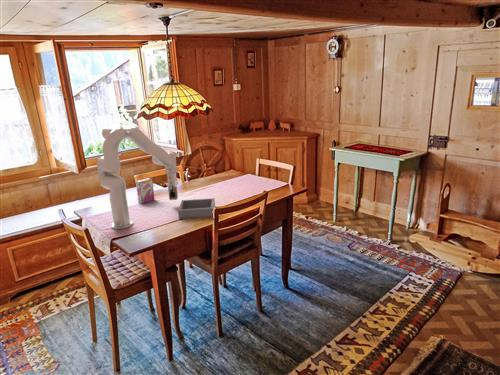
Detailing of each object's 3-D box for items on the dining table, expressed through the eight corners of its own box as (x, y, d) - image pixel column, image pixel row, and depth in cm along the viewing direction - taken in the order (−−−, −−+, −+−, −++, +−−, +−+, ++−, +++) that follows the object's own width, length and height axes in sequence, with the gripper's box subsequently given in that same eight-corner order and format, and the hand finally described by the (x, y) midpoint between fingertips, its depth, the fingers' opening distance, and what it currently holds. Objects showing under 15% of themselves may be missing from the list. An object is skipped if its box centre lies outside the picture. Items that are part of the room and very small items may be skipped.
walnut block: (176, 199, 247) (175, 186, 245) (169, 199, 247) (168, 187, 244) (177, 197, 252) (176, 185, 249) (170, 197, 252) (169, 185, 249)
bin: (213, 217, 228) (213, 208, 226) (178, 219, 227) (177, 210, 225) (215, 206, 247) (214, 198, 245) (182, 208, 246) (182, 200, 244)
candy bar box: (142, 204, 259) (139, 182, 255) (138, 202, 262) (135, 181, 258) (155, 199, 267) (152, 178, 263) (151, 198, 271) (148, 177, 266)
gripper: (174, 173, 236) (177, 199, 241) (178, 167, 252) (180, 192, 257) (163, 173, 236) (165, 200, 240) (167, 168, 252) (169, 192, 257)
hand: (173, 195), depth 249 cm, fingers closed on walnut block, 5 cm apart
